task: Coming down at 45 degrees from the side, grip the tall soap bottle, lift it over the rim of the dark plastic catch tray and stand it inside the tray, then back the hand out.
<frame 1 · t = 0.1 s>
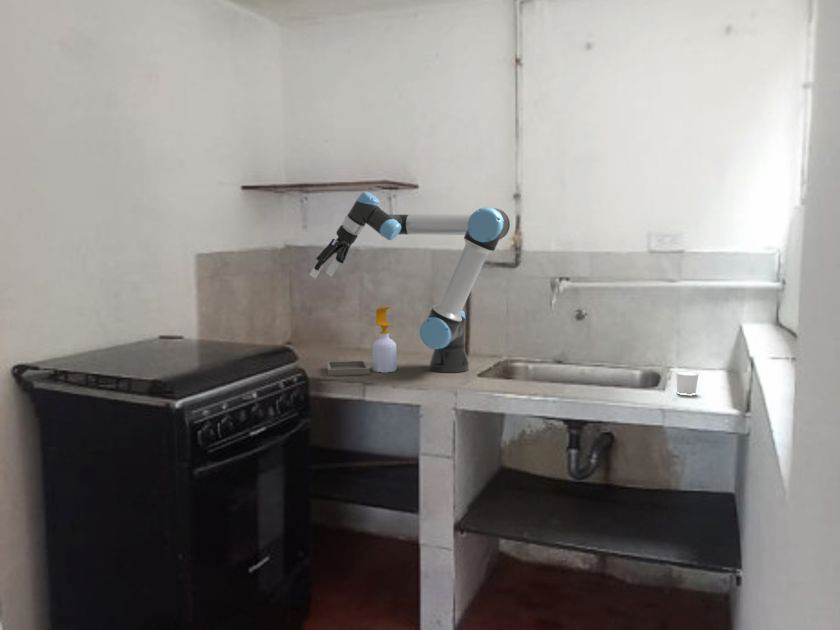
hand: (320, 275, 272), 36 cm above the worktop, tool tilted 35°, fingers open, 13 cm apart
soap bottle: (384, 371, 271), on the worktop
white cup: (686, 394, 234), on the worktop
catch tray: (347, 371, 268), on the worktop
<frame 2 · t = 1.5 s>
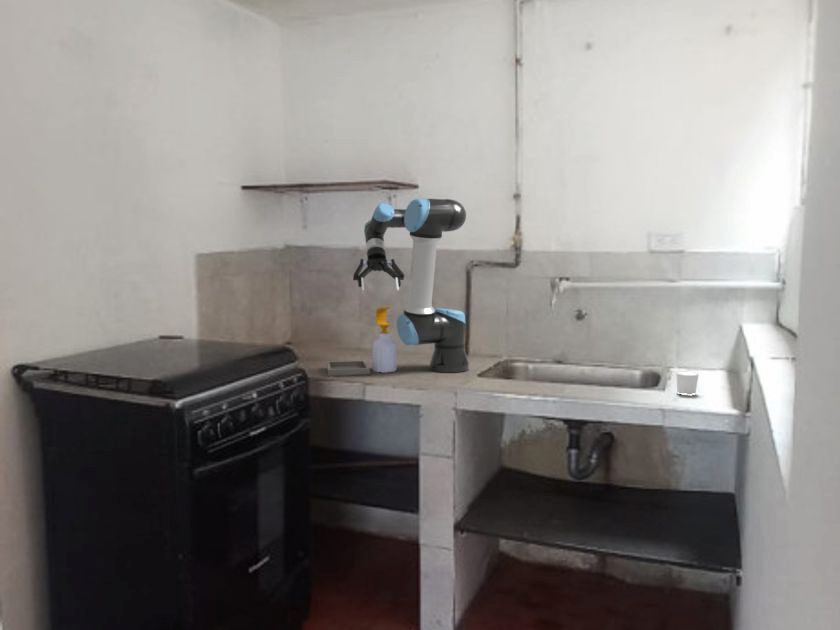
hand: (380, 292, 278), 29 cm above the worktop, tool tilted 45°, fingers open, 13 cm apart
nothing on the worktop moved.
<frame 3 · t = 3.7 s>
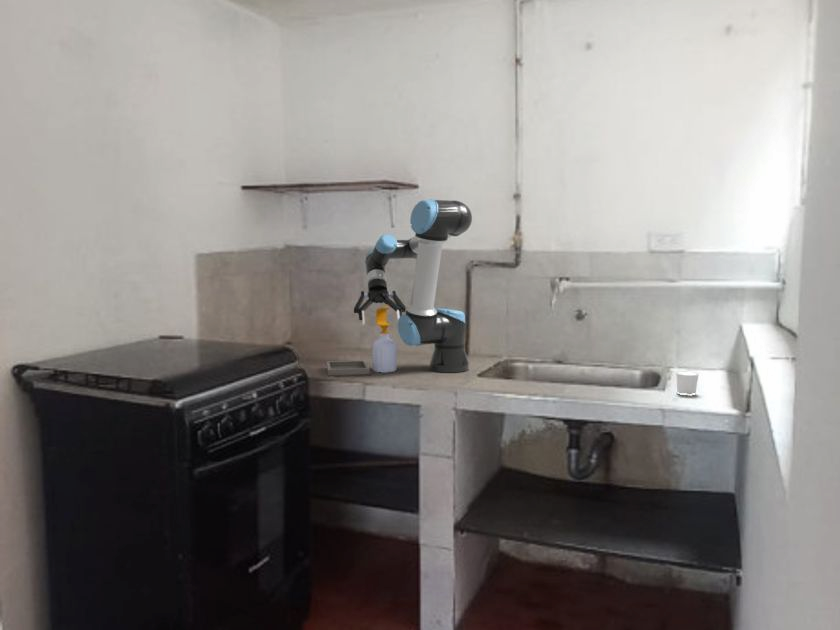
hand: (381, 325, 273), 17 cm above the worktop, tool tilted 45°, fingers open, 13 cm apart
nothing on the worktop moved.
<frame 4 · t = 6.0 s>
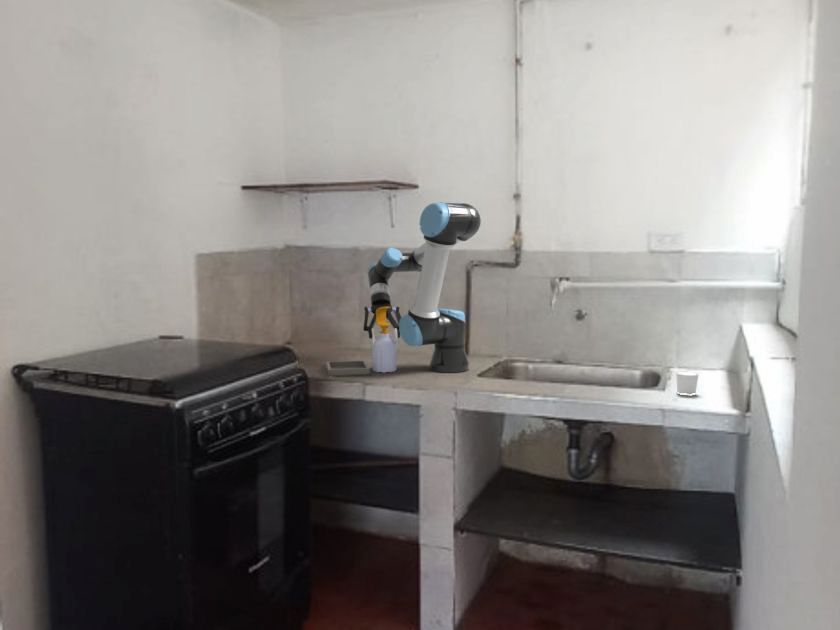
hand: (385, 344, 266), 11 cm above the worktop, tool tilted 45°, fingers closed on soap bottle, 8 cm apart
soap bottle: (384, 371, 271), on the worktop, touching gripper
everything else where it was.
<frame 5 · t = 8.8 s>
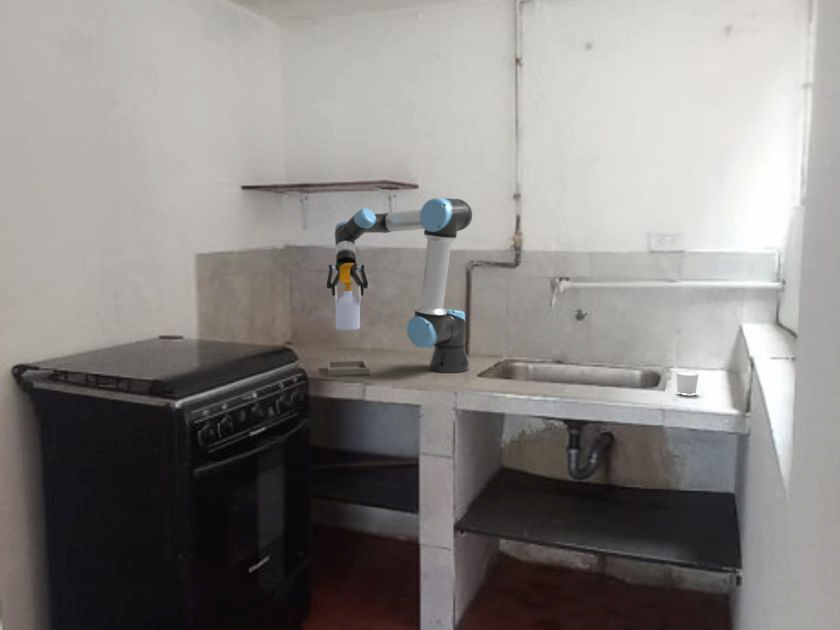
hand: (348, 301, 262), 27 cm above the worktop, tool tilted 45°, fingers closed on soap bottle, 8 cm apart
soap bottle: (347, 329, 267), point 16 cm above the worktop, touching gripper
everything else where it was.
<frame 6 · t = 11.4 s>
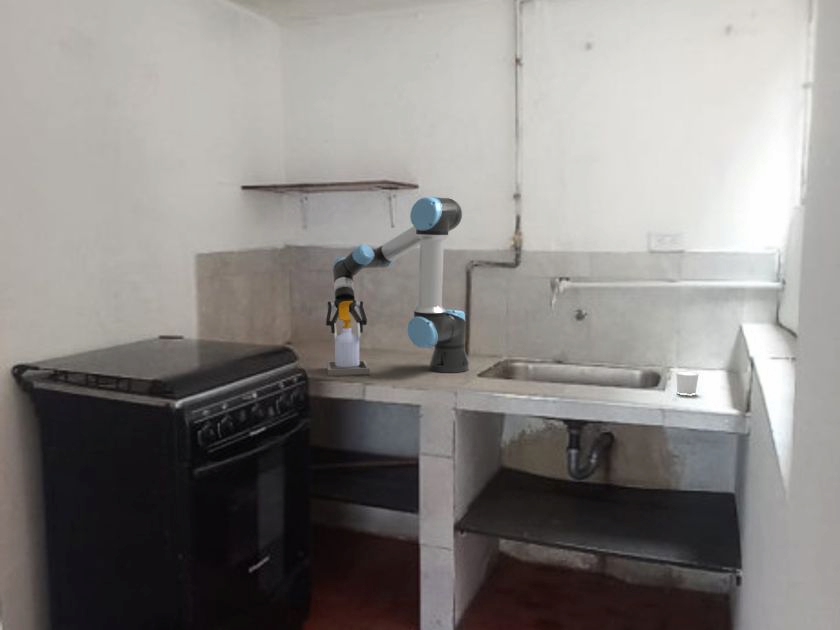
hand: (347, 339, 263), 13 cm above the worktop, tool tilted 45°, fingers closed on soap bottle, 8 cm apart
soap bottle: (347, 366, 268), point 2 cm above the worktop, touching gripper
everything else where it was.
when the fingers open (13 cm above the worktop, at t = 12.0 s): soap bottle drops 1 cm, resting on catch tray.
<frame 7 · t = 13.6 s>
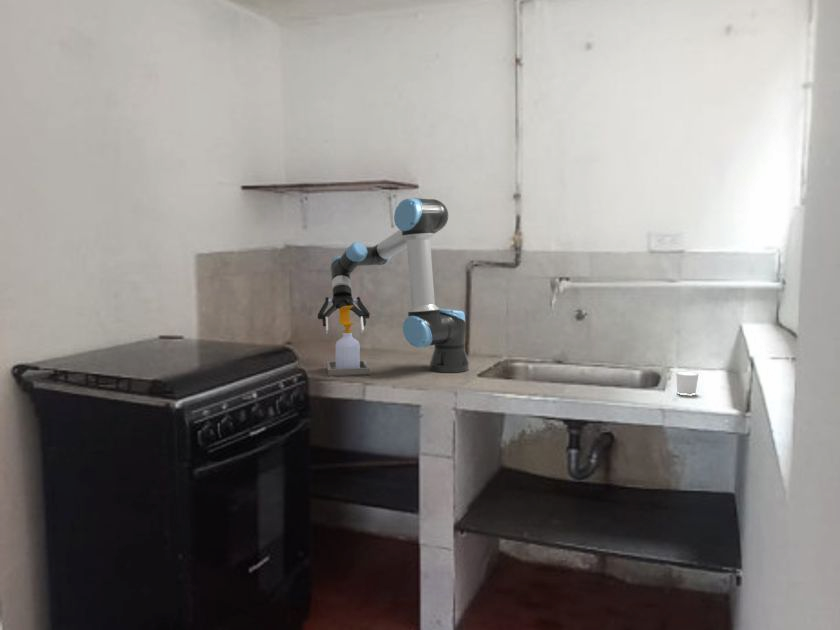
hand: (345, 332, 274), 14 cm above the worktop, tool tilted 45°, fingers open, 13 cm apart
soap bottle: (347, 370, 268), resting on catch tray
everything else where it was.
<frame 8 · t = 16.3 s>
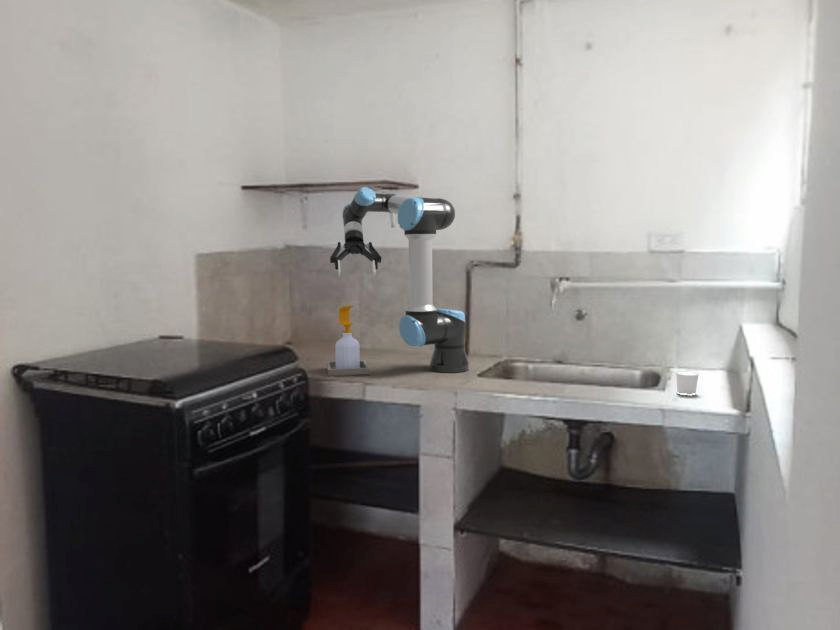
hand: (357, 274, 277), 36 cm above the worktop, tool tilted 45°, fingers open, 13 cm apart
nothing on the worktop moved.
at the end: soap bottle inside the target area on the catch tray (0.1 cm from its centre), point 0.4 cm above the catch tray's base; soap bottle tilted 0°; the gripper is holding nothing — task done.
